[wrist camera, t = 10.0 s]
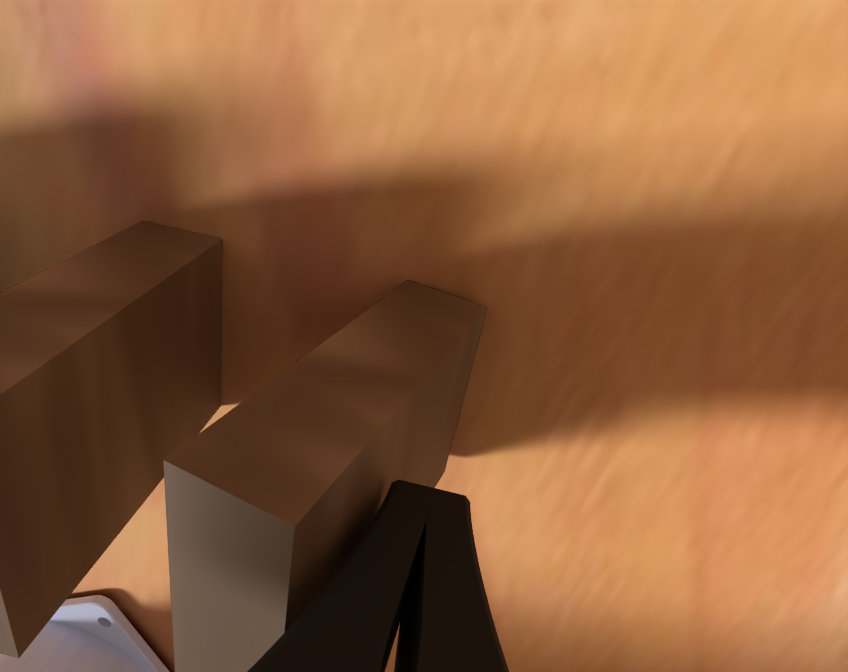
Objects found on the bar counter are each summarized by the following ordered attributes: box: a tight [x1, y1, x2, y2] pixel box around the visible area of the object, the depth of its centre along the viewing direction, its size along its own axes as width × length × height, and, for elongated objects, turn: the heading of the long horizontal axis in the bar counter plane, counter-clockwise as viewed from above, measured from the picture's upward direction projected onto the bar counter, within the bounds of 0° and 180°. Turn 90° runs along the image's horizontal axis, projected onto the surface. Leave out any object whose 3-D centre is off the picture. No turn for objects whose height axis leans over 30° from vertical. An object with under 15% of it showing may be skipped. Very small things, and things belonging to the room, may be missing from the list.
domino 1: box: [0, 221, 223, 658], centre depth 12 cm, size 2×5×8 cm, turn 169°
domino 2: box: [163, 280, 487, 672], centre depth 12 cm, size 2×5×8 cm, turn 169°
